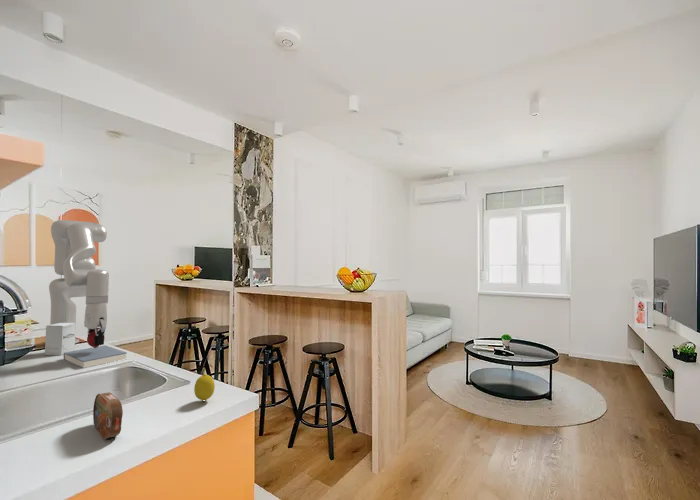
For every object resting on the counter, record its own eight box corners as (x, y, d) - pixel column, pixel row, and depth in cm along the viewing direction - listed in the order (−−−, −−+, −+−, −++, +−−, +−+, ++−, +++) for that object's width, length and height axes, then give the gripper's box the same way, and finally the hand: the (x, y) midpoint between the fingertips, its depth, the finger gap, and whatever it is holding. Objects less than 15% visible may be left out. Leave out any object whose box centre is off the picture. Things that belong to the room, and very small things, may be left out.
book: (63, 360, 142) (63, 352, 142) (105, 352, 154) (105, 345, 154) (83, 369, 131) (83, 361, 131) (126, 359, 143) (126, 352, 143)
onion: (93, 350, 139) (93, 330, 139) (83, 348, 141) (83, 329, 141) (107, 346, 144) (108, 327, 145) (97, 345, 146) (98, 326, 147)
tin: (91, 423, 88) (92, 390, 88) (106, 419, 90) (107, 386, 90) (107, 445, 78) (109, 407, 78) (124, 440, 80) (125, 403, 80)
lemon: (218, 399, 104) (218, 372, 104) (205, 406, 99) (205, 378, 99) (203, 396, 106) (204, 370, 106) (189, 403, 100) (190, 375, 101)
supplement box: (61, 355, 147) (62, 325, 148) (44, 355, 147) (45, 325, 148) (75, 350, 155) (76, 322, 155) (59, 350, 155) (60, 322, 155)
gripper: (77, 299, 145) (76, 342, 144) (95, 302, 135) (93, 349, 135) (98, 297, 151) (97, 339, 151) (116, 301, 142) (115, 345, 141)
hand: (95, 343), depth 143 cm, fingers closed on onion, 5 cm apart
